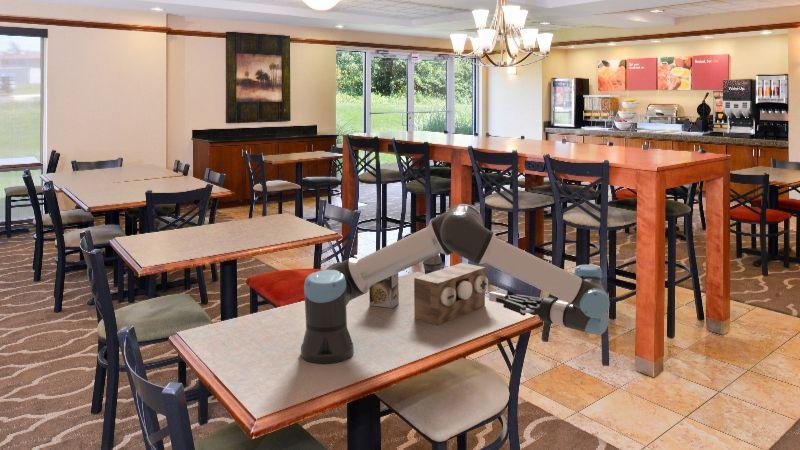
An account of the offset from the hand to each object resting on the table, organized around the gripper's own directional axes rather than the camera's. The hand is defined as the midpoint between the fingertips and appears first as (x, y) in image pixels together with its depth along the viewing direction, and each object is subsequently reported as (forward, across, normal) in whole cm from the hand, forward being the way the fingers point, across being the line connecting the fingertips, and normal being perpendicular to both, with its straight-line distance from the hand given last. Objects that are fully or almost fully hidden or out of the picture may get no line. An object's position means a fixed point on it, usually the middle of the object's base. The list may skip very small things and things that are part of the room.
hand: (490, 295), depth 208 cm
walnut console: (+15, 0, -9) cm, 18 cm away
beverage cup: (+35, +13, -9) cm, 39 cm away
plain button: (+11, 0, -3) cm, 11 cm away
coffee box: (+39, -9, -9) cm, 41 cm away
